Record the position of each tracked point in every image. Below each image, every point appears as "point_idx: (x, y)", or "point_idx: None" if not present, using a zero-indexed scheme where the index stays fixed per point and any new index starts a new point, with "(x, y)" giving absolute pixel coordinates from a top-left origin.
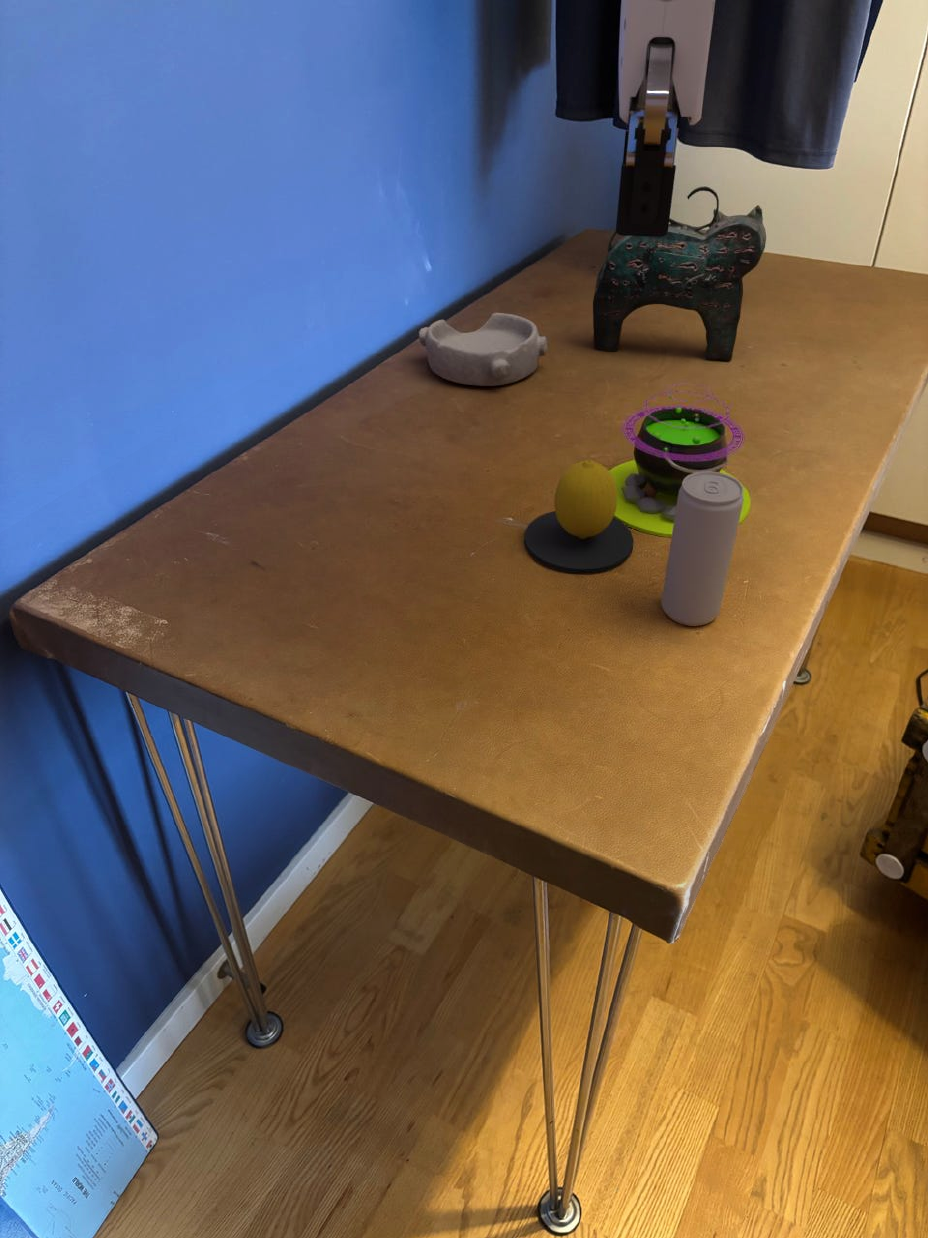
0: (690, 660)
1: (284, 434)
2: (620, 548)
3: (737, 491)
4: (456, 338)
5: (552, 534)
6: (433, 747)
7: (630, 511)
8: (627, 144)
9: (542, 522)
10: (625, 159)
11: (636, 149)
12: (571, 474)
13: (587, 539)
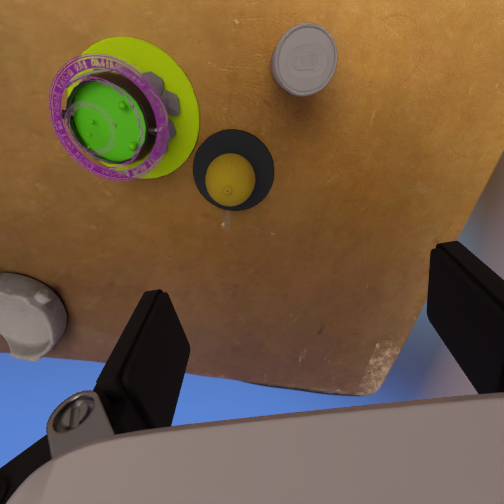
0: (352, 51)
1: (187, 371)
2: (236, 138)
3: (306, 31)
4: (14, 336)
5: None
6: (459, 193)
7: (178, 144)
8: (170, 422)
9: None
10: (177, 396)
11: (165, 401)
12: (239, 199)
13: None
